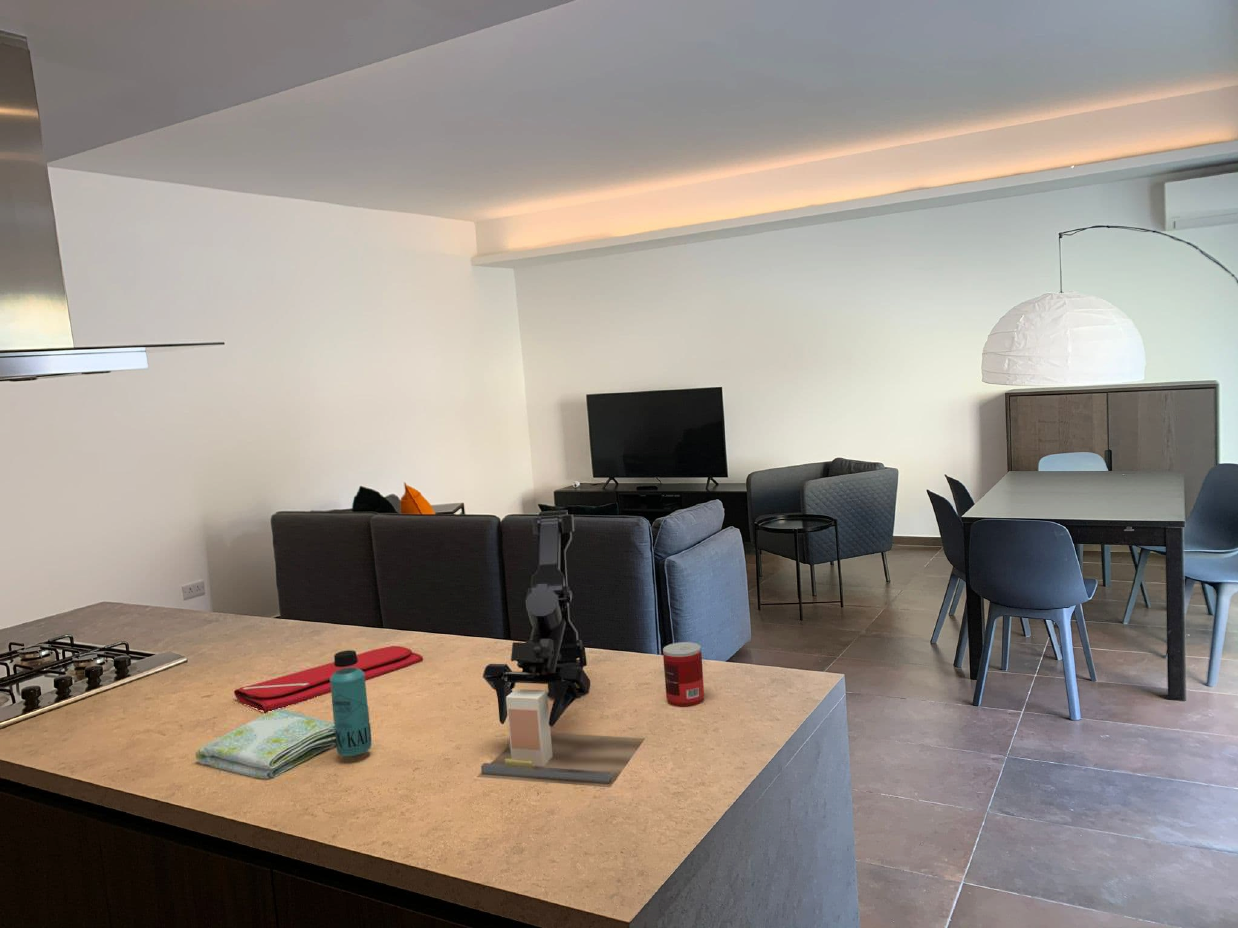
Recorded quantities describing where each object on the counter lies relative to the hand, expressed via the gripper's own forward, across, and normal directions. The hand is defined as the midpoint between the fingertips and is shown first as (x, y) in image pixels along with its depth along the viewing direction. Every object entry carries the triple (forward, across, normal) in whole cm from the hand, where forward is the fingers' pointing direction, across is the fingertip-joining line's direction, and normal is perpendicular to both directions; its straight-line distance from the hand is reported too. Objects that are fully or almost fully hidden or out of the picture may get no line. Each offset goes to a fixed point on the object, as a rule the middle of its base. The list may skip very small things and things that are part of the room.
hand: (525, 724), depth 155 cm
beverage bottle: (+6, -35, +6) cm, 36 cm away
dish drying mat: (-21, -68, +34) cm, 79 cm away
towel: (+7, -53, +6) cm, 54 cm away
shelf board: (+3, +5, +8) cm, 10 cm away
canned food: (-19, +19, +31) cm, 41 cm away
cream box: (+4, 0, +6) cm, 7 cm away
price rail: (+8, +5, +2) cm, 10 cm away
